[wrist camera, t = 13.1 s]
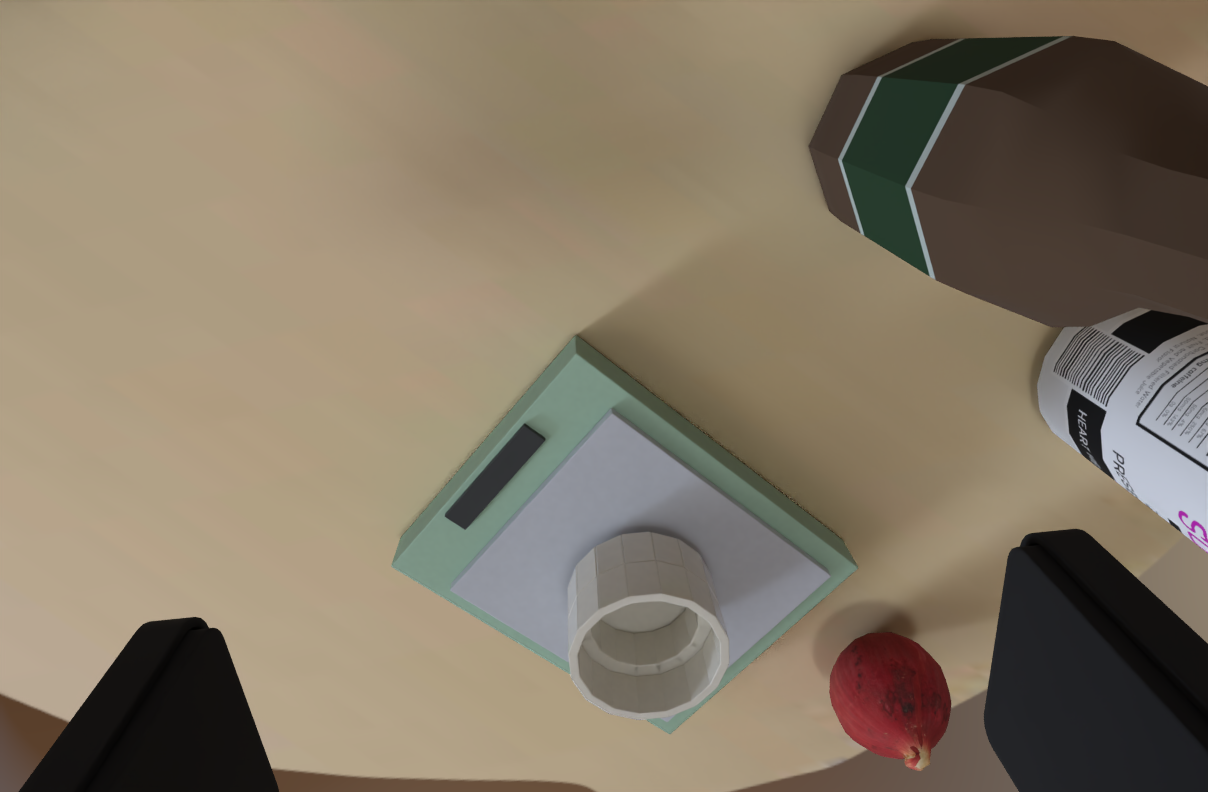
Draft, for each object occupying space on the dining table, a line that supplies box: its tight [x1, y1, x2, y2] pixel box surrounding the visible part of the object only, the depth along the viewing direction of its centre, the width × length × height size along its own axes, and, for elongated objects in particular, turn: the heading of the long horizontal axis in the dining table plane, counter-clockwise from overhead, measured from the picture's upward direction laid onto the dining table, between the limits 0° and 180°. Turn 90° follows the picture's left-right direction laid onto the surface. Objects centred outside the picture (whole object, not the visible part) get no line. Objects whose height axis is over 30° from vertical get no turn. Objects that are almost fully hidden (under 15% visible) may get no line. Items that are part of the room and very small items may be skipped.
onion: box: [829, 632, 951, 771], centre depth 40 cm, size 6×6×8 cm
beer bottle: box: [809, 36, 1208, 327], centre depth 22 cm, size 8×8×24 cm
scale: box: [391, 335, 858, 734], centre depth 39 cm, size 18×14×3 cm
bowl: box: [568, 532, 729, 720], centre depth 35 cm, size 7×7×5 cm
